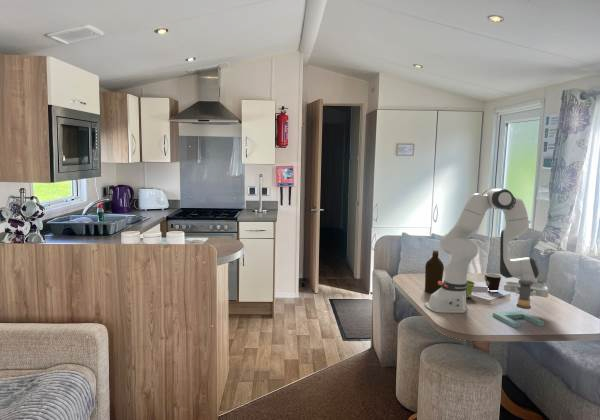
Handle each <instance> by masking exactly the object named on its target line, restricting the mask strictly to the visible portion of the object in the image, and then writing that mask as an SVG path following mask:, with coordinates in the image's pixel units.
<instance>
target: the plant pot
mask: <svg viewBox="0 0 600 420" xmlns="http://www.w3.org/2000/svg"><path fill="white" fill-rule="evenodd" d="M466 283H467V290H466V299H467V298H468V296H469V295H471V296H472V294H473V289H474V286H475V284H476V283H475V282H474V281H472V280H466ZM468 299H469V298H468Z"/></svg>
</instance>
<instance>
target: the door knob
mask: <svg viewBox="0 0 600 420" xmlns="http://www.w3.org/2000/svg"><path fill="white" fill-rule="evenodd" d="M518 282H519V283H520V294H518V296H519V297H518V299H517V303H516V307H517V308H518V309H521V310H531V308H532V306H531V299H530V298H531V296H530V288H531V285H532V284H533V282H532V281H529V280H520V279H518Z"/></svg>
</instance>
